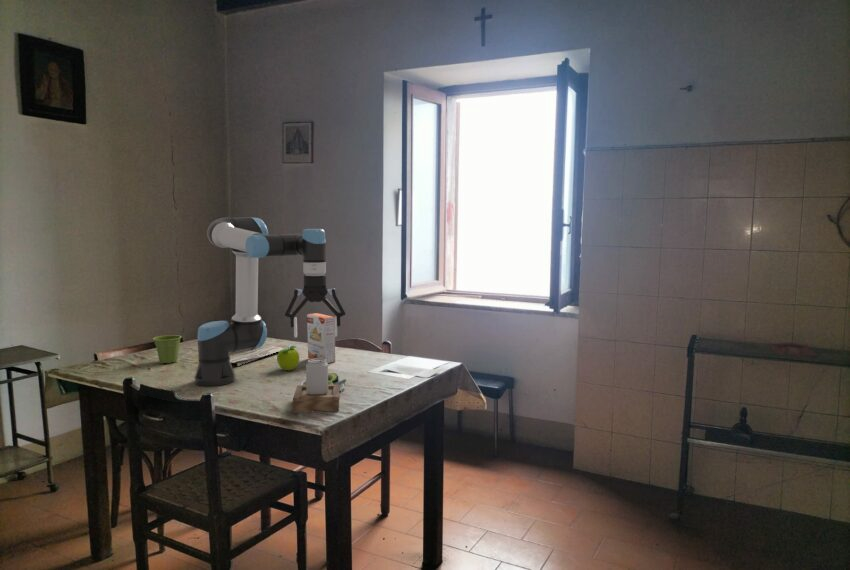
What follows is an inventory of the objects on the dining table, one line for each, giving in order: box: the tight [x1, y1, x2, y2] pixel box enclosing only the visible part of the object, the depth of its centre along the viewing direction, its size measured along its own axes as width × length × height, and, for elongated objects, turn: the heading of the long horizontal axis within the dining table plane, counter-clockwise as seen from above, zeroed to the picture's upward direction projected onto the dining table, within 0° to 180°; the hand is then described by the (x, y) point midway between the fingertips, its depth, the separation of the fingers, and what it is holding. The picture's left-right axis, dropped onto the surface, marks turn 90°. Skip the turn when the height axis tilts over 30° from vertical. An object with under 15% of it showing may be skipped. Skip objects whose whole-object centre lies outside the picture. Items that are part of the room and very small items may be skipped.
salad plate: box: [299, 372, 347, 392], centre depth 227 cm, size 19×18×5 cm
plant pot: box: [152, 334, 182, 364], centre depth 268 cm, size 12×12×11 cm
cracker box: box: [306, 312, 336, 364], centre depth 271 cm, size 14×6×21 cm, turn 44°
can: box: [305, 358, 329, 396], centre depth 207 cm, size 8×8×12 cm
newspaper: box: [230, 345, 285, 367], centre depth 276 cm, size 35×12×4 cm, turn 158°
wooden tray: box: [292, 384, 341, 414], centre depth 208 cm, size 15×15×5 cm
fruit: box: [276, 345, 300, 371], centre depth 255 cm, size 9×9×10 cm
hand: (315, 336), depth 205 cm, fingers open, 13 cm apart
